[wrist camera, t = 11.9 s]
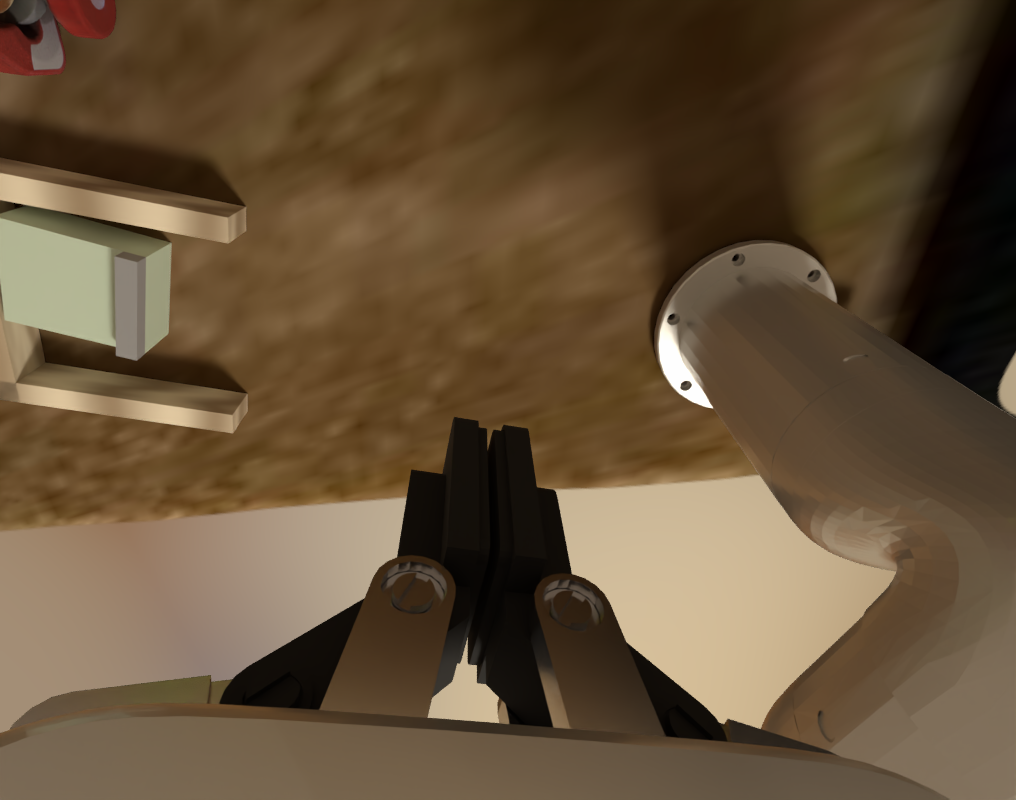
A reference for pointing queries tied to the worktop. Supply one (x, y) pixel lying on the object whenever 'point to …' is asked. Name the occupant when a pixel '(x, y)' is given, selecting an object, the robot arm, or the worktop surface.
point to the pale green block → (84, 279)
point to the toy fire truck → (48, 31)
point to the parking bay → (28, 379)
